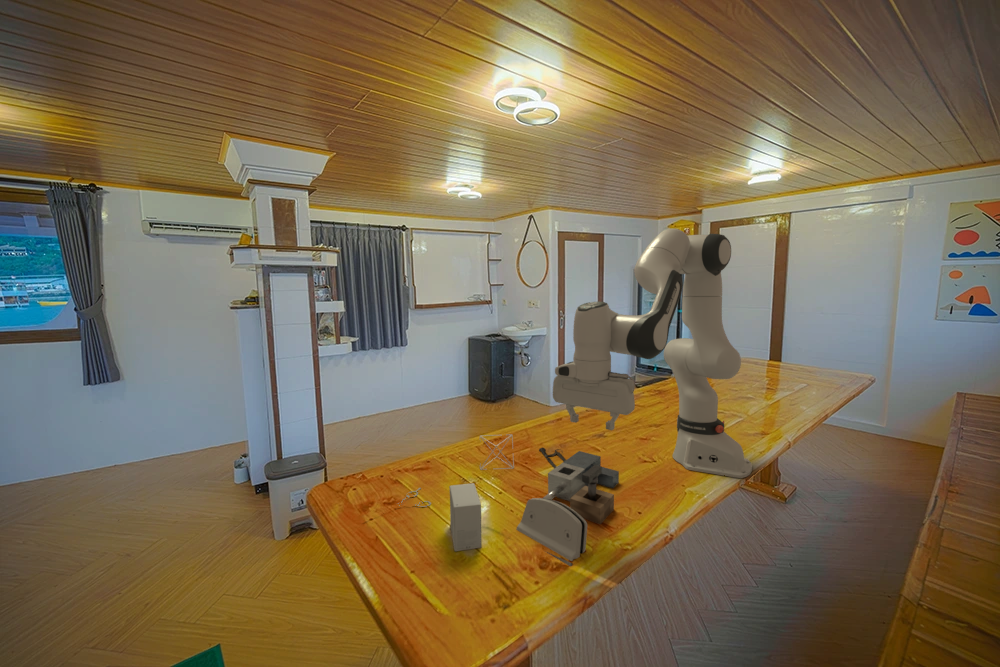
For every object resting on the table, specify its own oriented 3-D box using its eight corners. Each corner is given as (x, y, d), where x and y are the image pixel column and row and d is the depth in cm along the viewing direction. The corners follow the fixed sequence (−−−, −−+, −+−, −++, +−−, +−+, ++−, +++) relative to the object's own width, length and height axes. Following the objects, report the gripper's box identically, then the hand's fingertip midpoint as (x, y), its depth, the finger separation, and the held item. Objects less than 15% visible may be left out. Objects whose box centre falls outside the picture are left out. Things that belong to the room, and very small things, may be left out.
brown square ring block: (613, 513, 104) (613, 494, 104) (600, 528, 98) (600, 508, 97) (585, 503, 109) (585, 485, 109) (570, 517, 103) (570, 498, 102)
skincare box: (483, 547, 92) (481, 503, 91) (454, 552, 91) (452, 507, 89) (476, 521, 102) (474, 481, 101) (450, 525, 101) (448, 485, 100)
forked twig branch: (538, 451, 145) (537, 447, 145) (565, 447, 147) (565, 443, 147) (564, 482, 122) (564, 477, 122) (596, 477, 124) (596, 472, 124)
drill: (579, 472, 127) (579, 451, 126) (620, 484, 119) (620, 461, 118) (534, 508, 107) (533, 483, 106) (579, 525, 99) (579, 498, 98)
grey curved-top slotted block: (514, 533, 97) (523, 490, 98) (527, 531, 100) (535, 490, 101) (572, 567, 85) (581, 517, 86) (584, 564, 88) (593, 516, 89)
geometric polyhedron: (521, 462, 136) (520, 435, 135) (505, 475, 126) (504, 447, 125) (489, 455, 142) (488, 430, 141) (471, 468, 132) (470, 440, 131)
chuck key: (603, 507, 105) (603, 466, 104) (591, 519, 100) (591, 477, 99) (593, 503, 107) (593, 464, 106) (580, 515, 102) (580, 474, 100)
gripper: (639, 372, 95) (638, 430, 97) (561, 363, 108) (562, 414, 109) (629, 377, 90) (628, 438, 92) (549, 367, 103) (549, 421, 104)
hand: (591, 425), depth 101 cm, fingers open, 8 cm apart
